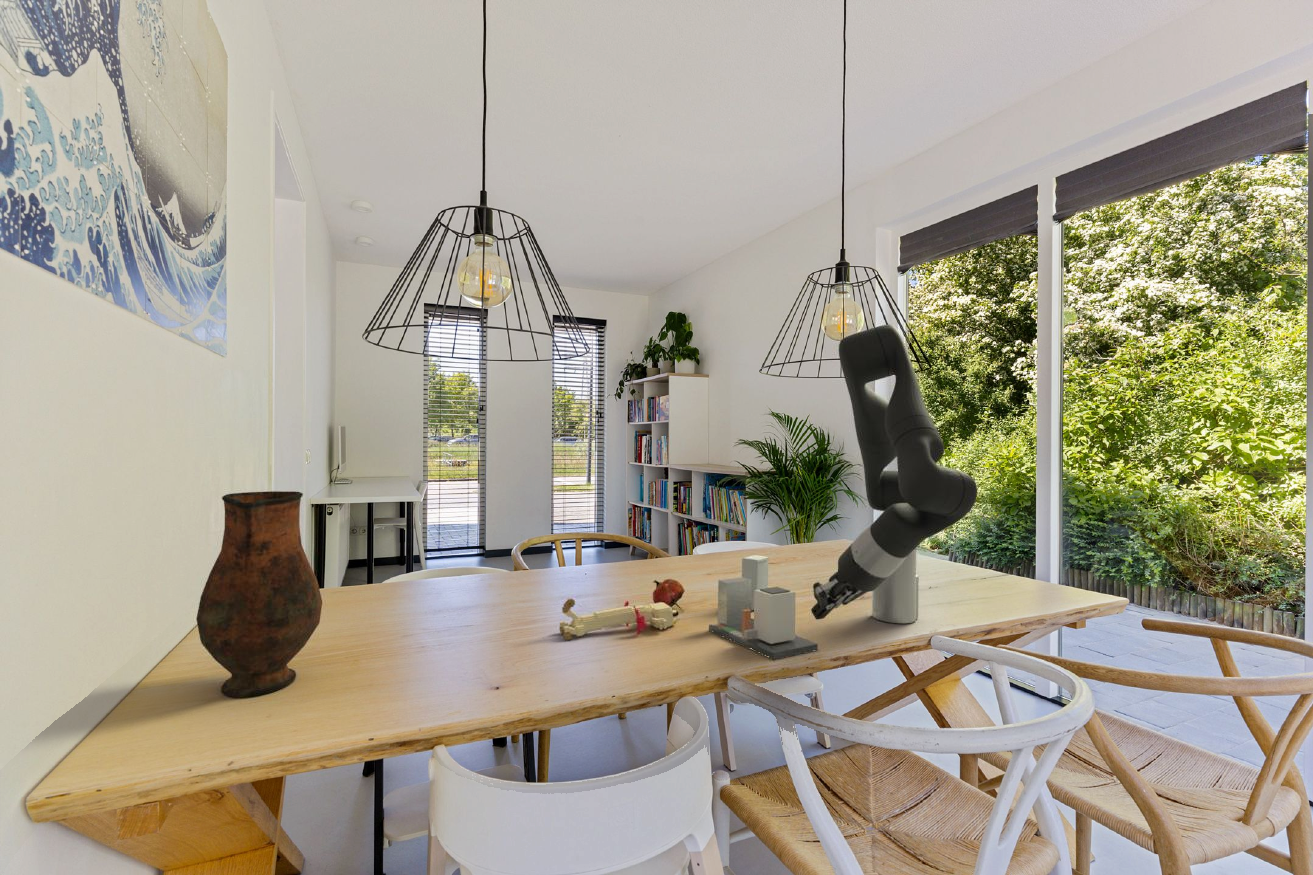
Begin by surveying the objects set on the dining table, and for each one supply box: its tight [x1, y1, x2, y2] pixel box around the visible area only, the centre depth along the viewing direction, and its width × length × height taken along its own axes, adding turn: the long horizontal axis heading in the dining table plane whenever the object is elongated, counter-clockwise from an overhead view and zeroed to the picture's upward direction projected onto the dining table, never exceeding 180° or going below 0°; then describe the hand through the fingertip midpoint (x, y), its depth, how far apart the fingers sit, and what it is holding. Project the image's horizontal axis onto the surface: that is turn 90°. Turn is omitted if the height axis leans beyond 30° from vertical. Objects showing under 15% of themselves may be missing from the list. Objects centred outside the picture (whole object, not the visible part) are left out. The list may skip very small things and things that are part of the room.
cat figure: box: [558, 597, 681, 641], centre depth 129 cm, size 10×9×25 cm
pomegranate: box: [652, 578, 686, 613], centre depth 146 cm, size 7×7×10 cm
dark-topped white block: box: [744, 586, 797, 644], centre depth 120 cm, size 8×5×9 cm, turn 121°
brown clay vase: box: [196, 490, 323, 699], centre depth 101 cm, size 17×21×30 cm
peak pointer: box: [742, 609, 752, 637], centre depth 121 cm, size 1×1×5 cm, turn 120°
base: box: [708, 576, 819, 660], centre depth 124 cm, size 11×20×10 cm, turn 31°
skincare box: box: [741, 554, 770, 611], centre depth 149 cm, size 6×4×12 cm
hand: (816, 614), depth 111 cm, fingers closed
